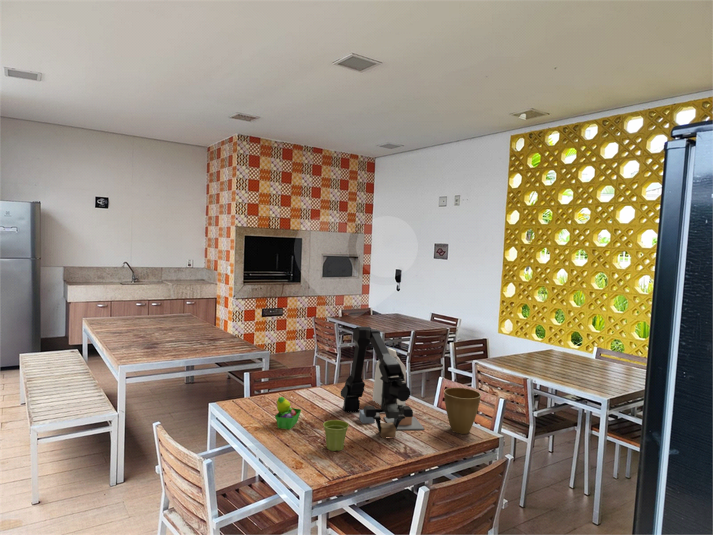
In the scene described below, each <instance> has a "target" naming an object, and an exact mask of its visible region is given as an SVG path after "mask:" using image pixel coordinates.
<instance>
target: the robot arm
mask: <svg viewBox="0 0 713 535" xmlns="http://www.w3.org/2000/svg"><path fill="white" fill-rule="evenodd" d="M352 339H353V340H352V341H353V342H354V345H355V348H354V353H353V359H352V363H351V364H352V365H351V371H350V374H349V376H348V377H347V379H346V380H345V383H344V386H343V387H342V389H341V390H340V396H341V398H343V406H342V410H343V411H344V413H360V405H361V404H360V402H361V400H360V398H362V397H363V394H364V392H365V386H366V384H365V382H364V380H363V378H362V377H363V370H364V365H365V359H366V352H367V348H368V346H369V345H370V344H371V346H372V349H373V350H374V353H375V354H376V356H377V359H378V360H379V361H380V363H379V369H380V372H381V374H382V377H381V378H380V379H381V380H383V384H382V395H381V397H382V401H381V406H380V408H376V407H375V406H374V405H364V407H363V410H364V414H365V416H366V417H373V419H375V423H376V427H377V430H378V431H379V433H381V423H382V422H381V420H382V417H381V416H380V415H381V414H383V415H385V417H386V418H388V419H391V418H394V426H395V427H396V431H398V430H397V427H398V425H399V423H400V421H401V420H402V419H405V417H414V411H413V409H412V408H411V406H410V405H405V406H404V405H397V399H398V400H400V401H408V400H409V399H410V396H411V390H410V388H409V387H408V386H407V382H406V383H405V382H402V381H405V379H404V374H403V372H402V369H401V366H400V364H399V363H398V361H397V360H396V358H394V357H393V356H391V355H390V353H389V351H388V347H387V345H386V344H385V342H384V339H383V337H382V336H381V330H379V329H377V328H376V329H375V328H372V327H371V326H356V327H354V328H353V330H352ZM394 376H399V377H394ZM379 433H378V434H379Z"/></svg>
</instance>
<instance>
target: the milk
mask: <svg viewBox="0 0 713 535" xmlns="http://www.w3.org/2000/svg"><path fill="white" fill-rule="evenodd" d="M387 349H388V351H389V353H390V355H391V356H393V357H394V358H396V360H397V361H398V363H399V364H400V366H401V369H402V372H403V374H404V379H405V381H402V382H405V383H406V384H407V380H406V379H407V368H406V365H405V364H404V363H403V362H402V361H401V359H400V357H399V356H398V355H397V350H395V349H394V348H391V347H387ZM379 363H380V361H379V359H378V360H377V361H376V364H375V372H374V381H373V391H372V402H374V401H375V402H374V403H376V404H377V403H378V404H379V406H380V405H381V401H382V397H381V395H382V384H383V380H381V379H380V378H381V377H382V374H381V372H380V369H379ZM394 377H399V376H394ZM406 401H407V400H406ZM406 401H400V400H398V399H397V405H404V406H406V403H407V402H406ZM378 404H377V405H378Z"/></svg>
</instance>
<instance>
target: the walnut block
mask: <svg viewBox="0 0 713 535" xmlns="http://www.w3.org/2000/svg"><path fill="white" fill-rule="evenodd" d="M378 434H380V435H379V436H380V438H381V437H382V438H381V439H387V438H386V437H395V438H396V437H397V436H396V434H397V430H396V427H395V426H394V424H393V423H386V422H381V433H379V431H378Z"/></svg>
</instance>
